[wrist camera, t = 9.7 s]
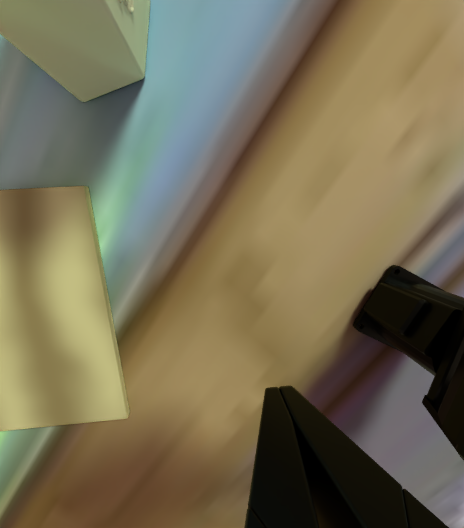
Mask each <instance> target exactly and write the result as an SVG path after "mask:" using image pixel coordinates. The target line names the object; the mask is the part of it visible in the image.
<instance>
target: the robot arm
mask: <svg viewBox="0 0 464 528" xmlns="http://www.w3.org/2000/svg"><path fill="white" fill-rule="evenodd" d="M395 270H396V272H395V273H394V271H395ZM360 324H361V326H360V327H359V325H360ZM353 326H354V328H355V329H357V330H358V331H359V332H362V333H364V334H366V335H368V336H370V337H372V338H374V339H376V340H378V341H380V342H382V343H385V344H387V345H389V346H391V347H393V348H395V349H397V350H399V351H401V352H403V353H404V354H406V355H407V356H408V357H410V358H411V359H412V360H414V361H415V362H416V363H418V364H419V365H420V366H422V367H423V368H424V369H426V370H427V371H429V372H430V373H431V374H433V375H434V376H435V377H434V379H433V382H432V384H431V387H430V389H429V391H428V394H427V395H425V396H424V398H423V401H422V403H423V405H424V406H425V408H426V409H427V410H428V412H429V413H430V414H431V416H432V417H433V419H434V420H435V421H436V423H437V424H438V426H439V427H440V428H441V430H442V431H443V433H444V434H445V435H446V437H447V438H448V440H449V441H450V442H451V444H452V445H453V447H454V448H455V449H456V451H457V452H458V454H459V455H460V457H461V458H462V459H463V460H464V298H463V297H460V296H457V295H454V294H451V293H448V292H446V291H444V290H442V289H440V288H438V287H437V286H435V285H433V284H431V283H429V282H427V281H426V280H424V279H422V278H420V277H418V276H417V275H415V274H413V273H411V272H409V271H408V270H406V269H404V268H402V267H400V266H396V265H392V266H390V268H389V269H388V270H387V272H386V274H385V275H384V277H383V278H382V280H381V281H380V283H379V284H378V286H377V287H376V289H375V291H374V292H373V294H372V295H371V297H370V298H369V300H368V301H367V303H366V305H365V306H364V308H363V309H362V311H361V312H360V314H359V315H358V317H357V318H356V320H355V322H354V324H353ZM244 528H449V527H447V526H446V525H445V524H444V523H443V522H442V521H441V520H440V519H438V518H437V517H436V516H435V515H434V514H433V513H432V512H430V511H429V510H428V509H427V508H426V507H425V506H424V505H423V504H421V503H420V502H419V501H418V500H417V499H416V498H415V497H414V496H413V495H411V494H410V493H409V492H408V491H407V490H406V489H403V490H402V486H401V485H400V484H399V483H398V482H397V481H396V480H395V479H394V478H393V477H391V476H390V475H389V474H388V473H387V472H386V471H385V470H384V469H383V468H382V467H380V466H379V465H378V464H377V463H376V462H375V461H374V460H373V459H372V458H371V457H369V456H368V455H367V454H366V453H365V452H364V451H363V450H362V449H361V448H360V447H358V446H357V445H356V444H355V443H354V442H353V441H352V440H351V439H350V438H349V437H347V436H346V435H345V434H344V433H343V432H342V431H341V430H340V429H339V428H337V427H336V426H335V425H334V424H333V423H332V422H331V421H330V420H329V419H328V418H326V417H325V416H324V415H323V414H322V413H321V412H320V411H319V410H318V409H317V408H315V407H314V406H313V405H312V404H311V403H310V402H309V401H308V400H307V399H306V398H304V397H303V396H302V395H301V394H300V393H299V392H298V391H297V390H296V389H295V388H293V387H292V386H281V387H279V388H278V387H270V388H266V389H265V395H264V402H263V408H262V415H261V422H260V428H259V435H258V442H257V448H256V455H255V462H254V469H253V475H252V482H251V489H250V495H249V502H248V509H247V514H246V521H245V527H244Z"/></svg>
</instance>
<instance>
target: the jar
mask: <svg viewBox="0 0 464 528" xmlns="http://www.w3.org/2000/svg"><path fill="white" fill-rule="evenodd" d="M149 14H150V0H0V35H2V36H3V37H4V38H5V39H6V40H8V41H9V42H10V43H11V44H12V45H14V46H15V47H16V48H17V49H18V50H20V51H21V52H22V53H23V54H24V55H26V56H27V57H28V58H29V59H31V60H32V61H33V62H34V63H35V64H37V65H38V66H39V67H40V68H41V69H43V70H44V71H45V72H46V73H47V74H49V75H50V76H51V77H52V78H53V79H55V80H56V81H57V82H58V83H59V84H61V85H62V86H63V87H64V88H65V89H67V90H68V91H69V92H70V93H71V94H73V95H74V96H75V97H76V98H77V99H79V100H80V101H82V102H86V101H89V100H91V99H94V98H96V97H99V96H101V95H104V94H106V93H109V92H111V91H114V90H116V89H119V88H121V87H124V86H126V85H129V84H131V83H134V82H137V81H139V80H142V79H143V78H144V77H145V66H146V53H147V40H148V27H149Z"/></svg>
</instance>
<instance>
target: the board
mask: <svg viewBox="0 0 464 528" xmlns="http://www.w3.org/2000/svg"><path fill="white" fill-rule="evenodd" d="M129 414H130V411H129V405H128V400H127V394H126V389H125V383H124V378H123V372H122V367H121V362H120V356H119V351H118V345H117V340H116V334H115V329H114V323H113V318H112V313H111V307H110V302H109V296H108V291H107V285H106V280H105V274H104V269H103V264H102V258H101V253H100V247H99V242H98V236H97V231H96V225H95V220H94V215H93V209H92V204H91V198H90V193H89V187H86V186H71V187H50V188H29V189H8V190H0V431H7V430H17V429H27V428H37V427H47V426H57V425H67V424H77V423H87V422H97V421H107V420H118V419H127V418H128V416H129Z"/></svg>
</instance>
